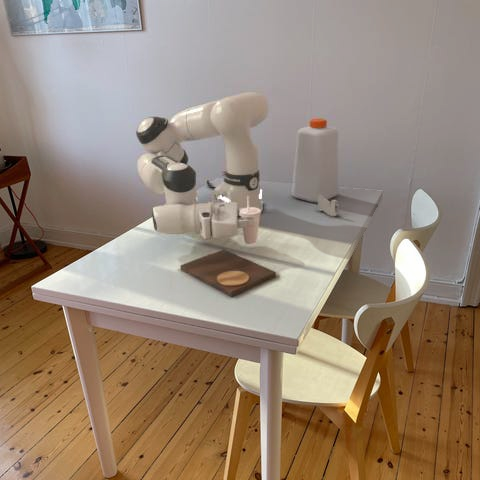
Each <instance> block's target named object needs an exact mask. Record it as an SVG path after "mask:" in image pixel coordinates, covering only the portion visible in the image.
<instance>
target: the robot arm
mask: <svg viewBox="0 0 480 480" xmlns="http://www.w3.org/2000/svg"><path fill="white" fill-rule="evenodd" d="M269 112H270V106H269V102H268V99H267V98H266V97H265V96H264V95H263V94H261V93H260V92H254V91H247V92H242V93H238V94H233V95H230V96H225V97H223V98H220V99H218V100H213V101H210V102H206V103H203V104H199V105H196V106H192V107H189V108H186V109H184V110H182V111H179V112H178V113H176V114H174V115H173V116H172V117H171V118H170V120H169V119H168V118H167V117H164V116H161V117H159V116H148V117H146V118H145V119H143V120H142V121H141V122H140V123H139V124H138V126H137V127H136V131H135V135H136V138H137V140H138V141H139V143H140V144H141V145H142V146H143V148H144V149H145V151H146V152H147V153H143V154H142V155H141V156H140V157H139V158H138V160H137V162H136V170H137V174H138V177H139V179H140V180H141V182H142V183H143V185H144V186H145V187H146V189H147V190H149V191H150V192H151V193H153V194H156V195H163V194H164V197H165V203H164V204H163V205H156V206H153V207H152V209H151V218H152V223H153V228H154V231H155V232H156V233H159V234H164V235H186V234H194V235H200V236H202V238H203V239H204V240H211V239H212V238H216V239H219V238H220V239H221V238H233V237H235V236H237V235H238V229H243V228H244V227H247V226H253V219H252V218H251V219H250V218H249V219H247V220H241V219H239V217H241V216H240V210H241V209H243V208H247V196H249V207H255V208H258V209H260V210H261V213H262V212H263V210H264V208H263V206H264V201H262V194H263V193H262V192H263V190H262V189H261V185H260V176H261V174H260V170H259V149H258V146H257V145H256V144H255V143H254V142H253V139H252V135H251V128H254V127H256V126H258V125H260V124H261V123H262V122H263V121H264V120H265V119H266V118H267V117H268V115H269ZM218 136H219V137H220V136H221V139H222V143H223V145H224V150H225V162H226V163H225V165H226V171H222V172H221V174H222V176H224V177H223V181H222V182H221V183H219V184H218V185H217V186H213V185H211V184H210V181H209V180H208V179H207V180H206V185H207V186H208V188H210V189H213V191H212V196H211V197H212V199H211V200H209V201H207V203H198V193H197V184H196V183H197V172H196V170H195V169H194V168H193V167H192V166H191V165H189V164H188V163H189V156H188V154H187V152H186V150H185V149H184V148H183V146H182V145H181V144H182V143H184V142H196V141H201V140H206V139H212V138H214V137H218Z"/></svg>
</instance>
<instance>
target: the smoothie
mask: <svg viewBox="0 0 480 480" xmlns="http://www.w3.org/2000/svg"><path fill="white" fill-rule="evenodd" d="M261 215H262V212H261V210H260V209H258V208H255V207H249V196H247V208H243V209H241V210H240V216H239V217H240V220H247V219H249V218H250V219H251V218H252V219H253V226H247V227H244V228H242V233H243V234H242V235H243V240H244V243H245V244H248V245H252V244H256V243H257V242H258V234H259V226H260V219H261V218H260V217H261Z"/></svg>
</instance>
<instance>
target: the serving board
mask: <svg viewBox="0 0 480 480" xmlns="http://www.w3.org/2000/svg"><path fill="white" fill-rule="evenodd" d="M180 271H182V272H184V273H186V274H187V275H189V276H191V277H193V278H195V279H197V280H198V281H201V282H202V283H204V284H206V285H208V286H209V287H212V288H214V289H215V290H217V291H219V292H221V293H223V294H225V295H227V296H229V297H231V298H232V297H234V296H236V295H239V294H241V293H243V292H246V291H247V290H250V289H252V288H255V287H257V286H259V285H261V284H263V283H265V282H268V281H271V280H273V279H275V278H276V277H277V272H276V271H274V270H272V269H270V268H268V267H265V266H263V265H261V264H259V263H256V262H254V261H252V260H250V259H247V258H245V257H243V256H241V255H238V254H236V253H234V252H231V251H229V250H227V249H225V248H223V249H220V250H218V251H215V252H212V253H210V254H207V255H204V256H201V257H199V258H196V259H194V260H191V261H188V262H185V263H182V264H180Z"/></svg>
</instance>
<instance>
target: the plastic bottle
mask: <svg viewBox="0 0 480 480" xmlns="http://www.w3.org/2000/svg"><path fill="white" fill-rule="evenodd" d="M296 133H297V134H296V143H295V144H296V145H295V152H294V153H295V155H294V165H293V175H292V184H291V185H292V186H291V195H292V197H293V198H294V199H297V200H302V201H306V202H309V203H310V202H311V203H317V204H318V196H319V195H323V196H324V197H325V199H327V200H328V201H329V200H330V199H331V200H332V199H333V198H335V197H337V196H338V194H339V130H338V128H337V127H334V126H329V125H328V121H327V119H325V118H312V119H310V120H309V125H308V126H305V127H302V128H299V129H298V131H297V132H296Z"/></svg>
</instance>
